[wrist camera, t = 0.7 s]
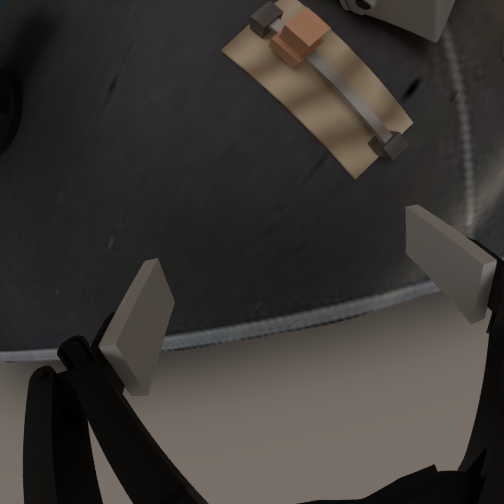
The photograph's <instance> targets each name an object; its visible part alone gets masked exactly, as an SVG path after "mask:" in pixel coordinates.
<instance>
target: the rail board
mask: <svg viewBox="0 0 504 504" xmlns="http://www.w3.org/2000/svg"><path fill="white" fill-rule="evenodd" d="M305 8H306V7H305V6H304V5H303V4H301V3H300V2H299V1H298V0H278V1H277V2H276V3H275V4H274V3H272V2H271V1H269V2H268V3H266V4H265V5H264V6H263V7H262V8H260V9H259V10H258V11H257V12H255V13H254V14H253V15H252V16H251V20H250V24H249V25H248V26H247V27H246V28H245V29H244V30H243V31H242V32H240V33H239V34H238V35H237V36H236V37H235V38H234V39H233V40H232V41H231V42H230V43H228V44H227V45H226V46H225V47H224V48H223V49H222V50H221V51H222V53H224V54H225V55H226V56H227V57H229V58H230V59H231V60H232V61H234V62H235V63H236V64H237V65H238V66H240V67H241V68H242V69H243V70H244V71H245V72H247V73H248V74H249V75H250V76H251V77H252V78H254V79H255V80H256V81H257V82H258V83H259V84H260V85H262V86H263V87H264V88H265V89H266V90H267V91H268V92H269V93H270V94H271V95H273V96H274V97H275V98H276V99H277V100H278V101H279V102H280V103H281V104H282V105H283V106H284V107H285V108H286V109H288V110H289V111H290V112H291V113H292V114H293V115H294V116H295V117H296V118H297V119H298V120H299V121H300V122H301V123H302V124H303V125H304V126H305V127H306V128H307V129H308V130H309V131H310V132H311V133H312V134H313V135H314V136H315V137H316V138H317V139H318V140H319V141H320V142H321V143H322V145H323V146H324V147H325V148H326V149H327V150H328V151H329V152H330V153H331V154H332V155H333V156H334V157H335V158H336V159H337V161H338V162H339V163H340V164H341V165H342V166H343V167H344V168H345V169H346V171H347V172H348V173H349V174H350V175H351V176H352V177H353V178H354V179H357V178H358V177H359V176H360V175H361V174H362V173H363V172H364V171H365V170H366V169H367V168H368V167H369V166H370V165H371V164H372V163H373V162H374V161H375V160H376V159H377V158H378V157H379V156H382V157H385V158H387V159H390V160H393V161H394V160H395V159H396V158H397V157H398V156H399V155H400V154H401V153H402V152H403V151H404V150H405V149H406V148H407V147H408V146H409V144H408V142H407V141H406V140H405V138H404V137H403V136H402V133H403V132H404V131H405V130H406V129H407V128H408V127H409V126H410V125H412V124H413V122H412V121H411V119H410V118H409V117H408V115H407V114H406V113H405V111H404V110H403V109H402V107H401V106H400V105H399V103H398V102H397V101H396V100H395V98H394V97H393V96H392V95H391V93H390V92H389V91H388V90H387V89H386V87H385V86H384V85H383V84H382V83H381V82H380V80H379V79H378V78H377V77H376V76H375V75H374V73H373V72H372V71H371V70H370V69H369V68H368V67H367V66H366V65H365V64H364V62H363V61H362V60H361V59H360V58H359V57H358V56H357V55H356V54H355V53H354V52H353V51H352V50H351V49H350V48H349V47H348V46H347V45H346V44H345V43H344V42H343V41H342V40H341V39H340V38H339V37H338V36H337V35H336V34H335V33H334V32H333V31H332V30H331V29H330V30H329V31H328V32H326V33H325V34H324V35H323V36H322V37H323V38H324V39H325V41H324V42H323V43H322V44H321V45H319V46H318V47H317V48H316V49H315V50H313V51H312V52H311V53H310V54H309V55H308V56H307V57H305V58H304V59H303V60H302V61H301V62H300V63H299V64H298V65H297V66H296V67H294V68H292V67H291V66H290V65H289V64H288V63H287V62H286V61H285V60H283V59H282V58H281V57H280V56H279V55H278V54H277V53H275V52H274V51H273V50H272V49H271V48H270V47H269V44H270V41H271V38H272V37H273V36H274V35H276V34H277V33H278V32H279V31H280V30H281V29H283V28H284V25H285V24H286V23H288V22H289V21H290V20H291V19H293V18H294V17H295V16H296V15H298V14H299V13H300V12H301V11H303V10H304V9H305Z"/></svg>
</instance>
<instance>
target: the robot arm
mask: <svg viewBox="0 0 504 504" xmlns="http://www.w3.org/2000/svg"><path fill="white" fill-rule="evenodd" d="M5 1H6V0H0V11H1V9H2V7H3V5H4V3H5ZM21 109H22V96H21V90H20V86H19V83H18V81H17V79H16V77H15V76H14V75H13V73H11V72H10V71H8V70H6V69H0V153H1V152H3V151H4V150H5V149H6V148H7V147H8V145H9V144H10V143H11V141H12V139H13V137H14V135H15V133H16V131H17V128H18V125H19V121H20V116H21ZM406 254H407V255H408V256H409V257H410V258H411V259H412V260H413V261H414V262H415V263H416V264H417V265H418V266H419V267H420V268H421V269H422V270H423V271H424V272H425V273H426V274H427V275H428V277H429V278H430V279H431V280H432V281H433V282H434V283H435V284H436V285H437V286H438V287H439V288H440V289H441V290H442V292H443V293H444V294H445V295H446V296H447V297H448V298H449V299H450V300H451V301H452V303H453V304H454V305H455V306H456V307H457V308H458V309H459V311H460V312H461V313H462V314H463V315H464V316H465V318H466V319H467V320H468V321H469V322H470V323H471V324H473V323H475V322H478V321H480V320H482V319H484V318H485V313H486V310H487V306H488V308H489V309H490V310H491V311H492V315H491V318H490V322H489V325H488V329H487V332H486V333H489V341H488V350H487V358H486V366H485V372H484V379H483V384H482V390H481V395H480V400H479V405H478V409H477V414H476V418H475V422H474V426H473V430H472V434H471V437H470V441H469V444H468V447H467V451H466V454H465V456H464V459H463V461H462V463H461V465H460V466H459V468H458V470H457V471H439V472H438V471H437V469H436V466H435V465H432V466H429V467H427V468H424V469H422V470H419V471H417V472H414V473H412V474H409V475H406V476H404V477H401V478H399V479H397V480H396V481H394V482H392V483H391V484H389V485H387V486H386V487H384V488H382V489H380V490H378V491H377V492H375V493H373V494H371V495H369V496H367V497H366V498H363V499H358V500H316V501H311V502H305V503H299V504H504V261H503V260H502V259H501V258H499V257H498V256H497V255H495V254H494V253H493V252H491V251H489V249H487V248H486V247H484V246H483V245H482V244H481V243H479V242H478V241H476V240H474V239H471V238H468V237H465V236H464V235H462V234H461V233H459V232H458V231H457V230H455V229H454V228H452V227H451V226H449V225H448V224H446V223H445V222H444V221H442V220H441V219H439V218H438V217H436V216H434V215H433V214H431V213H430V212H428V211H427V210H425V209H424V208H422V207H421V206H419V205H412V206H407V207H406ZM174 303H175V301H174V299H173V296H172V294H171V291H170V289H169V286H168V284H167V281H166V278H165V276H164V273H163V271H162V268H161V265H160V263H159V260H158V258H156V259H152V260H147V261H145V262H144V263H143V265H142V267H141V268H140V270H139V272H138V274H137V275H136V277H135V279H134V281H133V282H132V284H131V286H130V288H129V289H128V291H127V293H126V295H125V297H124V298H123V300H122V302H121V304H120V306H119V307H118V309H117V311H116V312H115V313H112V314H111V315H110V316H109V317H108V318H107V319H106V320H105V321H104V323H103V324H102V326H101V329H100V330H99V332H98V335H96V337H95V339H94V341H93V343H92V345H91V347H90V345H89V344H88V342H87V340H86V339H85V338H84V337H83V336H79V335H78V336H73V337H71V338H69V339H67V340H66V341H65V342H63V343H62V344H61V346H60V347H59V349H58V351H57V355H58V357H59V358H60V360H61V361H62V363H63V364H64V366H65V367H66V368H67V371H64V372H61V373H56V372H55V371H54V369H53V368H52V367H51V366H43V367H41V368H38V369H37V370H36V371H34V373H33V375H32V376H31V377H30V380H29V386H28V394H27V402H26V412H25V424H24V441H23V442H24V443H23V488H24V504H103V502H102V498H101V493H100V489H99V485H98V480H97V475H96V471H95V465H94V460H93V454H92V449H91V442H90V435H89V428H88V421H89V423H90V426H91V428H92V430H93V432H94V434H95V436H96V438H97V440H98V442H99V444H100V446H101V448H102V450H103V452H104V454H105V456H106V458H107V460H108V462H109V464H110V465H111V467H112V469H113V471H114V473H115V474H116V476H117V478H118V480H119V481H120V483H121V485H122V486H123V488H124V490H125V491H126V493H127V495H128V496H129V498H130V499H131V501H132V502H133V504H208V503H207V501H206V500H205V499H204V498H203V497H202V496H201V495H200V494H199V493H198V492H197V491H196V490H195V489H194V487H193V486H192V485H191V484H190V483H189V482H188V481H187V479H186V478H185V477H184V476H183V475H182V474H181V473H180V471H179V470H178V469H177V468H176V467H175V466H174V464H173V463H172V462H171V460H170V459H169V458H168V457H167V455H166V454H165V453H164V452H163V451H162V449H161V448H160V446H159V445H158V444H157V443H156V441H155V440H154V439H153V437H152V436H151V435H150V433H149V432H148V430H147V429H146V428H145V426H144V425H143V423H142V422H141V421H140V419H139V418H138V416H137V415H136V413H135V412H134V410H133V409H132V408H131V406H130V404H129V403H128V401H127V400H126V398H125V397H124V396H123V394H122V393H123V390H124V387H126V389H127V390H128V392H129V393H130V394H131V396H140V395H148V393H149V389H150V385H151V381H152V378H153V374H154V371H155V367H156V364H157V360H158V357H159V353H160V350H161V346H162V343H163V339H164V336H165V333H166V329H167V326H168V323H169V319H170V316H171V313H172V309H173V306H174ZM87 419H88V420H87Z"/></svg>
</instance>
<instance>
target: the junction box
mask: <svg viewBox="0 0 504 504" xmlns="http://www.w3.org/2000/svg"><path fill="white" fill-rule="evenodd" d="M339 1H340V3H341V5H342V7H343V9H344V10H347V11H350V10H351V11H352V12H354V13H357V14H360V15H364V14H366V15H369V16H372V17H375V18H377V19H380V20H383V21H386V22H388V23H391V24H393V25H396V26H398V27H401V28H403V29H406V30H408V31H410V32H413V33H415V34H417V35H419V36H422V37H424V38H426V39H428V40H430V41H432V42H437V41H438V40H439V38H440V36H441V34H442V32H443V29H444V27H445V24H446V22H447V20H448V17H449V15H450V12H451V10H452V7H453V5H454V2H455V0H339Z"/></svg>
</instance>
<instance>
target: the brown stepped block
mask: <svg viewBox="0 0 504 504" xmlns="http://www.w3.org/2000/svg"><path fill="white" fill-rule="evenodd" d="M330 29H331V28H330V27H329V26H328V25H327V24H326V23H325V22H324V21H322V20H321V19H320V18H319V17H318V16H317V15H316V14H315V13H313V12H312V11H311V10H310V9H309V8H308V7H306V8H305V9H304V10H303V11H301V12H300V13H299V14H298V15H296V16H295V17H294V18H293V19H291V20H290V21H289V22H288V23H286V24H285V25H284V28H283V29H281V30H280V31H279V32H278V33H277V34H276V35H274V36H273V37H272V38H271V41H270V44H269V47H270V48H271V49H272V50H273V51H274V52H275V53H277V54H278V55H279V56H280V57H281V58H282V59H283V60H285V61H286V62H287V63H288V64H289V65H290V66H291V67H292V68H294V67H296V66H297V65H298V64H299V63H300V62H301V61H302V60H303V59H304V58H305V57H307V56H308V55H309V54H310V53H311V52H312V51H313V50H315V49H316V48H317V47H318V46H319V45H321V44H322V43H323V42H324V41H325V39H324V38H323V37H322V36H323V35H324V34H325V33H326V32H328V31H329V30H330Z"/></svg>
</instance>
